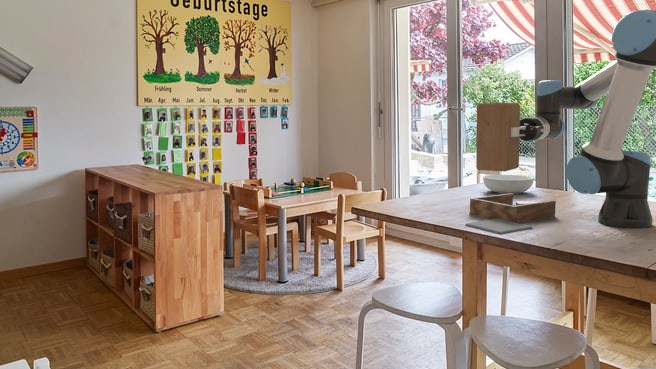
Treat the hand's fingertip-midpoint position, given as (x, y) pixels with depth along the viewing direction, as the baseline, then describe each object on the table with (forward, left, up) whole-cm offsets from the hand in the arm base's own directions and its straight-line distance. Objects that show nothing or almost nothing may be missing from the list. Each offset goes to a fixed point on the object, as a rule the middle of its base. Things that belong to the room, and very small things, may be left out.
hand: (494, 131), depth 164 cm
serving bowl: (+46, -59, -30) cm, 80 cm away
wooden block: (0, -2, -12) cm, 12 cm away
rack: (+11, -22, -30) cm, 38 cm away
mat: (+1, -4, -30) cm, 30 cm away
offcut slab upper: (+9, -29, -28) cm, 41 cm away
